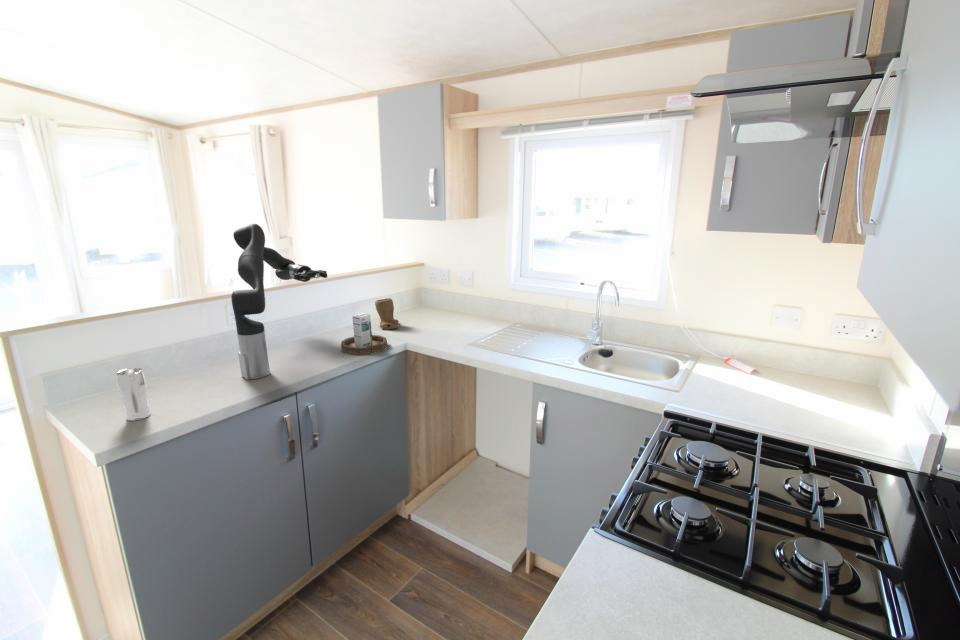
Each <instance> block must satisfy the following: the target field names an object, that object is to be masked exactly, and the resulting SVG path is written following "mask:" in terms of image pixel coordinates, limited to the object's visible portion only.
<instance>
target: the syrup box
mask: <svg viewBox="0 0 960 640" xmlns="http://www.w3.org/2000/svg"><path fill="white" fill-rule="evenodd" d="M351 318H352V326H353V337H354V339H355V346H357V347H367V346H371V345H373V343H372V335H373V333H372V320H371V319H372V318H371V314H369V313H364V312H361V313H359V314H354V315H352V317H351Z"/></svg>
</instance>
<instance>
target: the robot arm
mask: <svg viewBox="0 0 960 640" xmlns="http://www.w3.org/2000/svg"><path fill="white" fill-rule="evenodd" d="M232 235H233V240H234V241H235V243H236V245H237V246H238V247H239V248H240V249H242V250H243V251H242V253H241V255H239V258H238V261H237V273H238V275H239V277H240V278H241V280H243V281H244V282H245V283H246V284H247V285H249V286H250V287H251V289H240V290H239V289H238V290H234V291H232V293H231V305H232V306H231V307H232V310H233V315H234V321H235V325H236V326H235V327H236V333H237V340H238V348H239V352H237V354H238V361H239V367H240V373H241V377H243V378H244V379H246V380H247V381H249V380H256V379H257V380H259V379H262V378H265V377H267V376H269V375H270V373H271V371H270V369H271V368H270V362H269V361H270V360H269V355H268V353H269V352H268V348H267V347H268V345H267V338H266V331H265V325H264V323H263V322H260V321H258V320H257V321H256V320H253V319H250V318H248V317H247V315H248V316H249V315H250V316H252V315H259V314H263V313H264V312H265V310H266V295H265V286H264V279H265V278H264V275H265V274H264V273H265V269H264V268H265V263H266V264H267V265H269V267H271V268H272V269H274V270H275V273H274V274H275V276H276V277H277V278H278V279H280V280H282V281H290V280H296V281H299V282H303V283H307V282H309V281H310V280H312V279H320V278H322V279H323V278H324V279H327V278H328V272H327V271H326V270H321V269H318V270H314V269H312V268H311V267H310V266H308V265H303V264H296V263H295V261H293V260H291V259H289V258H287V257H284V256H282V255H281V254H280V253H279V252H278V251H277V250H275V249H273V248H270V247H266V246H265V245H266V235H265V232H264V229H263V228H262V227H261V225H259V224H258V223H250V224H248V225H245V226H243V227H240V228H237V229H236V230H235V231H233V234H232Z"/></svg>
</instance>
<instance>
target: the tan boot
mask: <svg viewBox="0 0 960 640" xmlns="http://www.w3.org/2000/svg"><path fill="white" fill-rule="evenodd" d="M374 306H375V309H376V312H377V314H378V316H379V318H380V323H379V327H380V328H382V329H384V330H394V329H396V328H398V327H399V319H395V317H394V311H395V306H394V301H393V299H392V298H390V297H389V298H388V297H386V298H382V299H377V300H375V301H374Z"/></svg>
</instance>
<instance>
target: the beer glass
mask: <svg viewBox="0 0 960 640" xmlns="http://www.w3.org/2000/svg"><path fill="white" fill-rule="evenodd" d="M115 377H116V384H117V390H118V394H119V395H120V397H121V400H122V401H123V404H124V407H125V410H126V411H125V412H126V420H127V421H129V420H130V421H129V422H135V420H137V421H139V420H144V419H146V417H147V418H149V417H150V416H151V414H152V412H151V410H150V408H149V406H148V400H147V397H148V395H147V394H148V393H147V392H148V387H147V380H146V377H145V374H144V369H143V368H141V367H131V368H130V367H129V368H125V369H122V370H119V371H117V372H116V373H115Z"/></svg>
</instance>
